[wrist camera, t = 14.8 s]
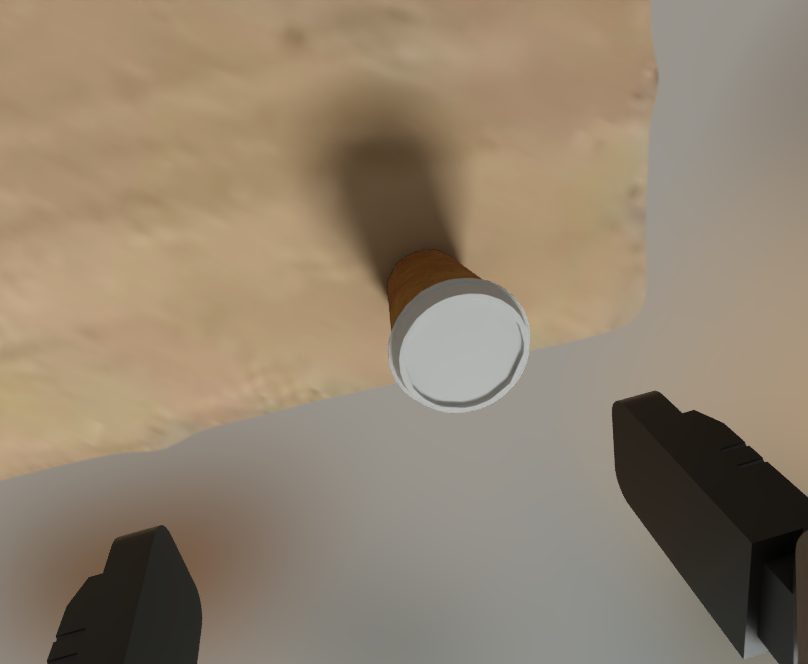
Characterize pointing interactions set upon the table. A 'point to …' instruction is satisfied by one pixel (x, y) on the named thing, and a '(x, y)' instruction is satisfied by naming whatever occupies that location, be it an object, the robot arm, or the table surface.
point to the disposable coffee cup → (453, 334)
